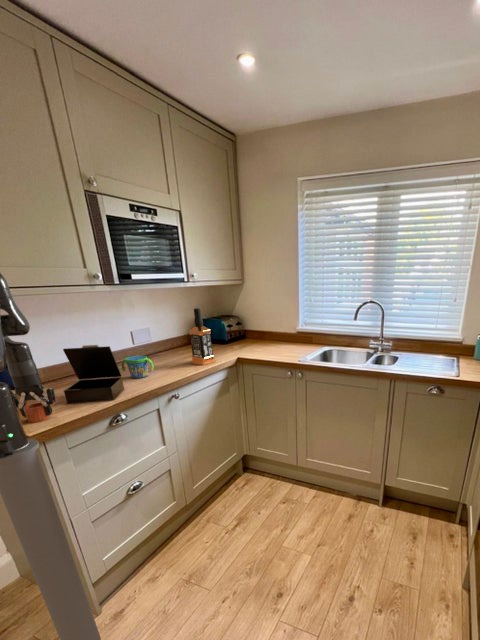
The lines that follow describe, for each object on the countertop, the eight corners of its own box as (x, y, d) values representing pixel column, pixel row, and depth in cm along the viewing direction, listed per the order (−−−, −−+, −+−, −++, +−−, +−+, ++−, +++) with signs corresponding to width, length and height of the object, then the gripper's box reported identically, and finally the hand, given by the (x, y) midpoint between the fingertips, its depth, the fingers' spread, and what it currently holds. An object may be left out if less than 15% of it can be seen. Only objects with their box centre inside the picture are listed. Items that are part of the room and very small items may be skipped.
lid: (109, 347, 141) (111, 340, 145) (62, 349, 137) (66, 342, 141) (121, 376, 153) (123, 369, 156) (78, 379, 149) (81, 372, 152)
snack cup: (159, 374, 178) (155, 355, 175) (148, 379, 168) (145, 360, 165) (131, 373, 179) (127, 355, 176) (119, 379, 169) (115, 360, 166)
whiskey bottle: (215, 361, 203) (209, 308, 192) (204, 365, 195) (197, 309, 184) (203, 359, 208) (196, 307, 197) (191, 363, 200) (183, 309, 188)
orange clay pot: (44, 421, 120) (39, 407, 118) (24, 423, 119) (19, 409, 117) (53, 415, 126) (48, 401, 124) (33, 416, 125) (29, 403, 123)
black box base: (113, 400, 141) (110, 387, 139) (67, 403, 137) (63, 390, 135) (124, 388, 155) (121, 377, 153) (82, 392, 151) (79, 379, 149)
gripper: (-7, 377, 111) (9, 422, 117) (42, 374, 114) (55, 418, 120) (6, 371, 118) (21, 414, 124) (52, 368, 121) (64, 410, 127)
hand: (38, 415), depth 122 cm, fingers closed on orange clay pot, 6 cm apart
